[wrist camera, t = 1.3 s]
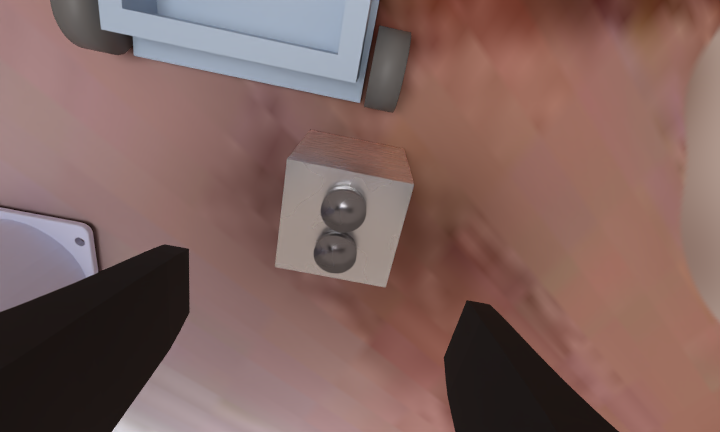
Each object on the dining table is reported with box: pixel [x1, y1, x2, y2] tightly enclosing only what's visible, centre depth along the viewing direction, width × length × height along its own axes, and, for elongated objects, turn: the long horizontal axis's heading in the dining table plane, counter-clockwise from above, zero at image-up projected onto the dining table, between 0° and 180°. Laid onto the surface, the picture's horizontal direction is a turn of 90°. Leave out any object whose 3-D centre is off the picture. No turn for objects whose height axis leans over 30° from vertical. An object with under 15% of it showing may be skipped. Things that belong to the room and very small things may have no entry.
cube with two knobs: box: [275, 129, 414, 287], centre depth 15 cm, size 4×4×6 cm
